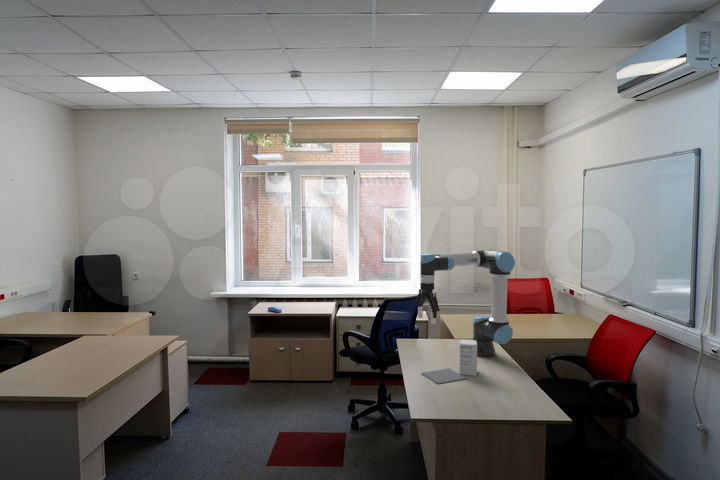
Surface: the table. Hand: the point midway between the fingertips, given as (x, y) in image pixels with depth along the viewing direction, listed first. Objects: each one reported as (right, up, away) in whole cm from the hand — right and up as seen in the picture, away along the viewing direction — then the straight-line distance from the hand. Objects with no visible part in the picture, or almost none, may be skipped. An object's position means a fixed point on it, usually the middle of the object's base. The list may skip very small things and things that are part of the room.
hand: (426, 320), depth 256 cm
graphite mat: (+8, -29, -6) cm, 30 cm away
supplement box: (+22, -28, 0) cm, 36 cm away
